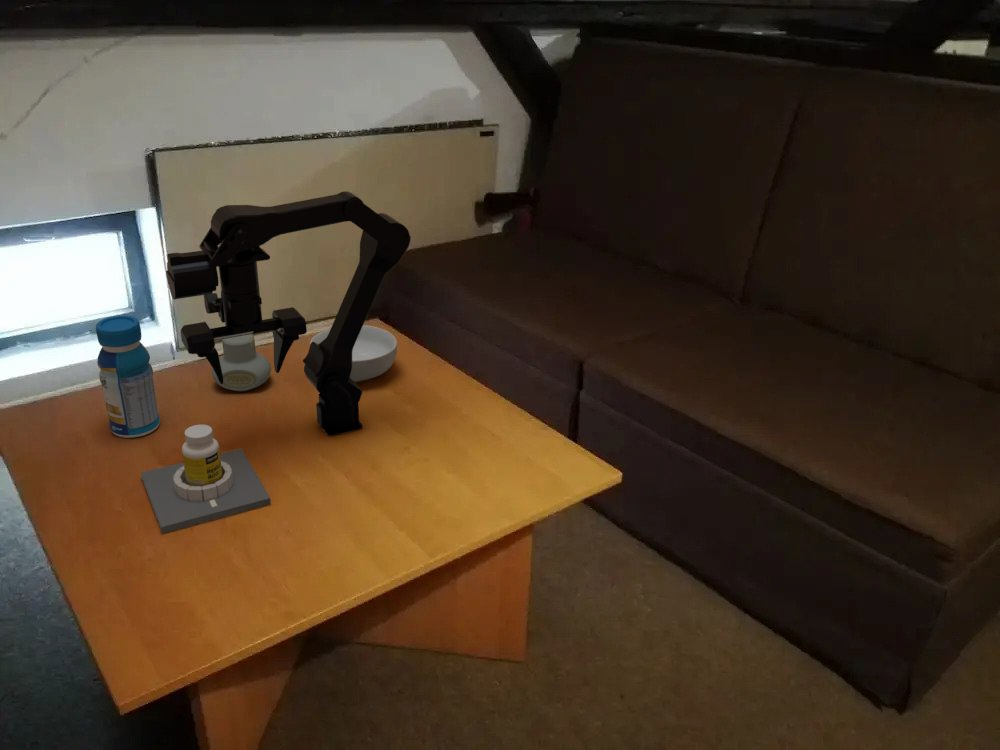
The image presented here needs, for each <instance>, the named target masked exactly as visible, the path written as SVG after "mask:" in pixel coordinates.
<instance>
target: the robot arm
mask: <svg viewBox="0 0 1000 750" xmlns="http://www.w3.org/2000/svg"><path fill="white" fill-rule="evenodd" d="M347 222H352V223H353V224H354V225H355V226H357V227H358V228H359V229H361V230H362V232H361V236H360V241H359V260H358V261H359V262H358V265H357V267H356V269H355V270H354V271H355V272H354V274H353V276H352V278H351V281H350V284H349V286H348V288H347V290H346V292H345V295H344V297H343V300H342V302H341V304H340V307H339V308H338V310H337V312H336V313H337V314H336V316H335V317H334V320H333V323H332V325H331V327H330V328H331V329H330V332H329V334H328V336H327V337H326V339H324V340H323V341H322V342H321V343H320V344H317V343H315V342H312V343H311V344H310V343H309V347H308V348H309V349H308V352H307V354H306V356H305V357H304V358H303V360H302V363H303V364H304V367H303V371H304V374H305V377H306V378H307V380H308V382H310V384H311V385H312V386H313V387H314V388H315V390H316V391H317V392H318V402H316V404H315V406H316V407H315V408H316V422H317V424H318V425H319V427H320V428H321V429H322V430H323V431H324V432H325V433H326V435H327V436H328V437H333V436H337V435H342V434H346V433H350V432H354V431H357V430H361V429H363V428H364V425H363V424H362V422H361V421H360V412H359V411H360V405H359V402H360V401H361V399H362V398H361V397H362V395H363V390H362V389H361V388H360V387H359V386H358V385H357V383H356V382H354V381H353V380H352V379H351V378H350V375H351V371H352V351H353V347H354V345H355V342H356V340H357V338H358V336H359V333H360V331H361V329H362V326H363V325H365V324H364V323H365V321H366V319H367V317H368V315H369V313H370V310H371V308H372V305H373V304H374V301H375V298H376V296H377V294H378V291H379V290H380V287H381V285H382V282H383V281H384V279H385V276H386V275H387V273H389V271H391V270H393V268H394V267H396V266H397V265H398V264H399V262H400V261H401V259H402V258H403V256H404V255H405V253H406V252H407V250H408V249H409V247H410V244H411V239H412V238H411V235H410V232H409V230H408V228H407V227H406V226H405V225H404V224H402V223H401V222H399V221H398V220H396V219H395V218H394V217H392V216H391V215H389V214H387V213H383V212H380V213H378V212H376V211H375V210H373V209H372V208H371V207H369V206H368V205H366V204H365V202H363V200H362V198H359V197H358V196H357V195H355V194H353V193H352V192H350V191H340V192H339V193H338V192H337V194H332V195H325V196H321V197H316V198H310V199H305V200H299V201H293V202H289V203H283V204H277V205H273V206H261V205H260V206H259V205H254V204H253V205H252V204H227V205H226V204H225V205H223V206H221V207H218V208H217V209H215V212H214V213H213V215H212V216H211V220H210V228H209V230H208V231H207V232H206V235H204V237H203V239H202V241H201V242H200V244H199V246H198V247H199V249H200V250H197V251H190V252H189V251H187V252H171V253H167V254H166V258H167V262H166V270H165V274H166V279H167V286H168V289H169V293H170V295H171V297H172V299H173V300H180V299H187V298H193V297H200V296H203V301H204V308H205V312H206V314H215V313H217V314H218V318H219V319H220V322H221V323H224V325H225V326H224V325H223V326H218V327H212V328H210V326H209V325H208V323H207V322H206V321H202V322H197V323H196V322H195V323H190V324H184V325H182V327H181V329H180V337H181V342H182V344H183V346H184V348H185V349H186V350H187V352H188V354H190V355H197V357H198V358H206V360H207V362H208V363H209V365H210V366H211V369H212V368H213V370H214V372H215V374H216V376H217V378H218V380H219V382H220V384H223V375H222V370H221V365H220V360H219V358H220V357H219V352H218V350H217V349H216V347H215V346H216V344H215V343H216V342H215V341H220V340H221V341H222V339H226V338H232V337H238V336H243V335H249V334H252V335H255V334H258V333H265V332H270V331H271V332H272V338H273V365H274V371H275V373H280V371H281V369H282V366H283V364H284V363H285V359H286V357H287V355H288V352H289V350H291V347H292V345H293V343H294V341H298V340H299V339H300V336H302V335H305V334H307V329H308V328H307V323H306V319H305V318H304V316H303V315H302V314H301V313H300V311H298V310H297V309H296V308H295V307H294V306H293V307H287V308H280V309H273V310H272V312H271V315H272V318H267V319H263V314H262V312H263V311H262V305H263V303H262V301H263V300H262V297H261V292H260V282H259V271H258V263H257V262H262V261H269V260H270V259H271V255H270V254H269V253H268V252H266V250H265V249H263V248H262V247H261V246H263V245H265V244H266V243H268V242H269V241H270V240H273V238H275V237H278V236H281V235H286V234H291V233H295V232H301V231H305V230H310V229H314V228H320V227H325V226H330V225H334V224H335V225H336V224H340V223H347ZM217 268H218V269H217ZM218 274H219V275H218ZM219 282H220V297H219V296H218V293H217V287H218V286H219Z"/></svg>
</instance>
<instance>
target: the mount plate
mask: <svg viewBox="0 0 1000 750" xmlns="http://www.w3.org/2000/svg"><path fill="white" fill-rule="evenodd" d="M220 459H221V468H222V476H223V478H222V479H220V480H218V481H217V482H215V483H213V484H209V485H205V486H190V485H187V484H186V477H185V469H184V462H179V463H175V464H171V465H166V466H162V467H158V468H154V469H153V468H152V469H148V470H145V471H142V472H140V475H141V479H142V482H143V486H144V488H145V491H146V494H147V497H148V499H149V502H150V504H151V507H152V510H153V512H154V516H155V518H156V521H157V523H158V525H159V528H160V532H161V534H162V535H163V534H164V535H165V534H167V533H170V532H174V531H178V530H181V529H185V528H189V527H193V526H197V525H200V524H204V523H208V522H211V521H214V520H219V519H222V518H227V517H230V516H233V515H237V514H241V513H244V512H248V511H252V510H256V509H259V508H264V507H266V506H270V505H272V501H271V496H270V495H269V493H268V492H267V490H266V488H265V486H264V485H263V483H262V481H261V479H260V478H259V476H258V474H257V472H256V471H255V469H254V467H253V465H252V463H251V462H250V460H249V459H248V457H247V455H246V454H245V451H244V450H243V448H238V449H233V450H230V451H225V452H222V453H220Z"/></svg>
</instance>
